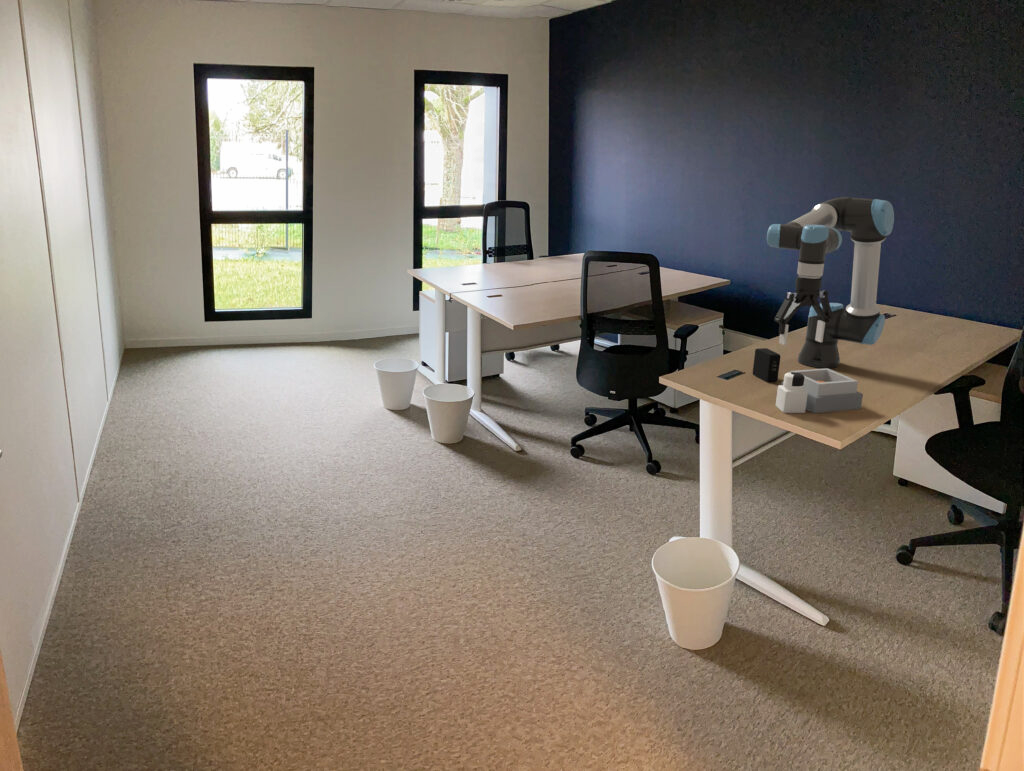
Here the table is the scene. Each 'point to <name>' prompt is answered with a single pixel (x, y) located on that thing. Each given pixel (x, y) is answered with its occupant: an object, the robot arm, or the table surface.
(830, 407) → the grey open box
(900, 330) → the table surface
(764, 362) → the electronic device
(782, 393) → the medicine bottle
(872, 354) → the table surface
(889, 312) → the table surface
